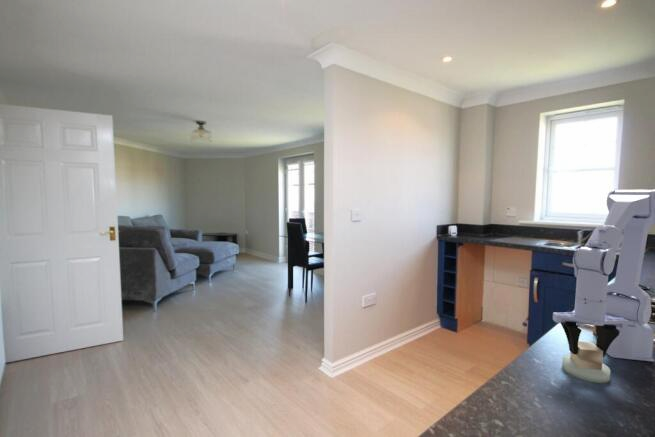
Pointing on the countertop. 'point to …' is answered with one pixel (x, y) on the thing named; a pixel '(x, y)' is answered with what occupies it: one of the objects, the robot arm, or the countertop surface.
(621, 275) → the robot arm
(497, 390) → the countertop surface
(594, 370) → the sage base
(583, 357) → the beech cube
